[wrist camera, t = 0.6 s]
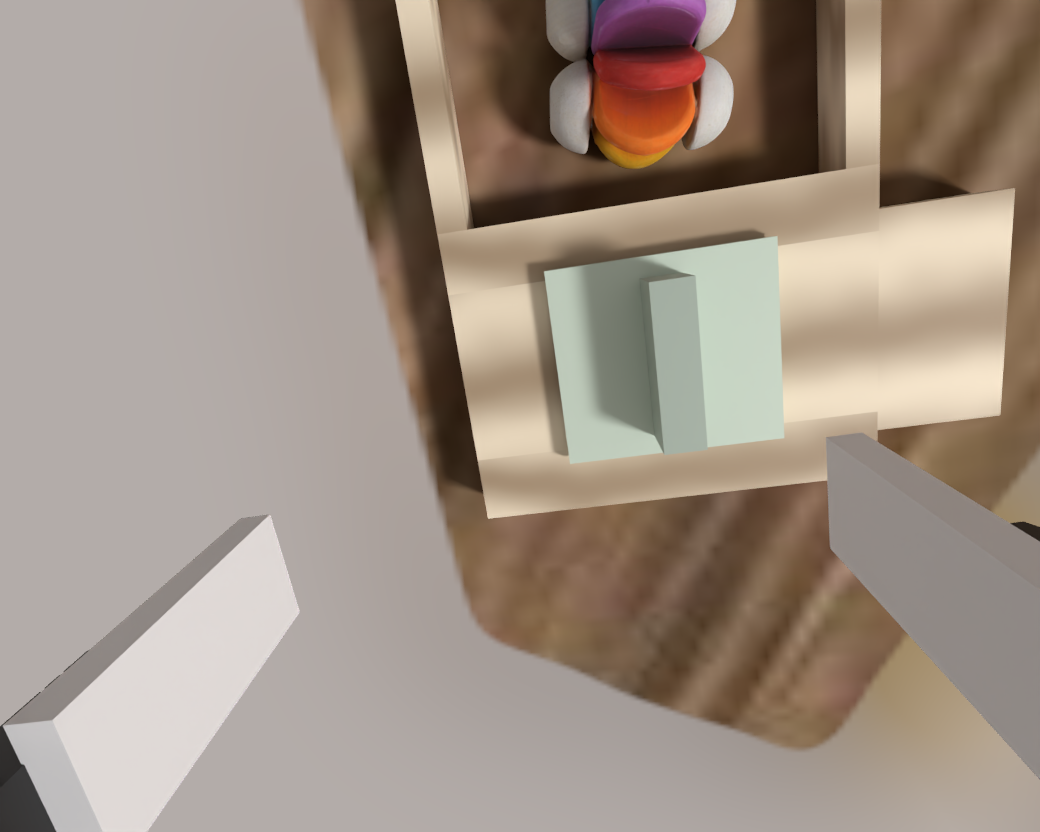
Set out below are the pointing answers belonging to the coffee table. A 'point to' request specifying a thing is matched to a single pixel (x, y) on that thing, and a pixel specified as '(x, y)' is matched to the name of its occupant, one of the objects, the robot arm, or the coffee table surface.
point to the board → (802, 289)
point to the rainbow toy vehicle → (638, 76)
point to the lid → (669, 350)
